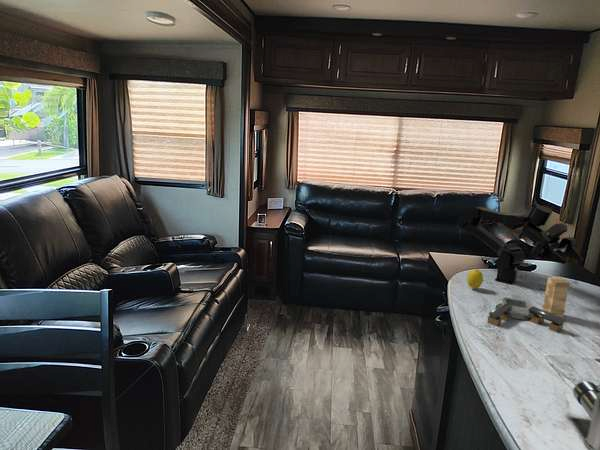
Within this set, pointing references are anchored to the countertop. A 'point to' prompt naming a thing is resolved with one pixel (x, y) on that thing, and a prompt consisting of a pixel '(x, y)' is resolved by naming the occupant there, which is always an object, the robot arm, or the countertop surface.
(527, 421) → the countertop surface
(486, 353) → the countertop surface
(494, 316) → the shaft
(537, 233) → the robot arm
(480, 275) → the lemon
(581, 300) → the countertop surface
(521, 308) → the grey round socket base
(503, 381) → the countertop surface
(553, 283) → the block
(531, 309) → the shaft
